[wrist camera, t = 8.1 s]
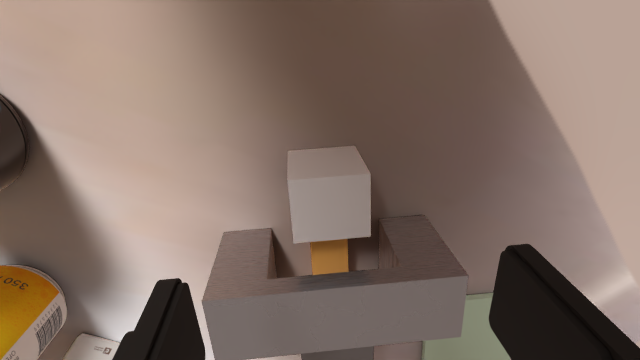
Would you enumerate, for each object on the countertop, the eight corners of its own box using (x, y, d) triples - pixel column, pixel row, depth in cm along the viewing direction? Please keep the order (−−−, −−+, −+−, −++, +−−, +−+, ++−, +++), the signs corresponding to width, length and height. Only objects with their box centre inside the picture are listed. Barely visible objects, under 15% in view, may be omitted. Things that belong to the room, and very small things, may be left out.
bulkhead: (223, 232, 23) (201, 301, 17) (424, 215, 24) (468, 275, 18) (233, 283, 25) (215, 362, 19) (421, 265, 26) (460, 337, 20)
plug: (284, 151, 22) (283, 180, 17) (358, 145, 22) (374, 173, 18) (301, 331, 27) (304, 388, 23) (360, 325, 27) (374, 380, 23)
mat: (425, 299, 27) (428, 304, 26) (518, 290, 27) (522, 294, 27) (419, 386, 30) (421, 391, 30) (502, 377, 31) (505, 382, 30)
